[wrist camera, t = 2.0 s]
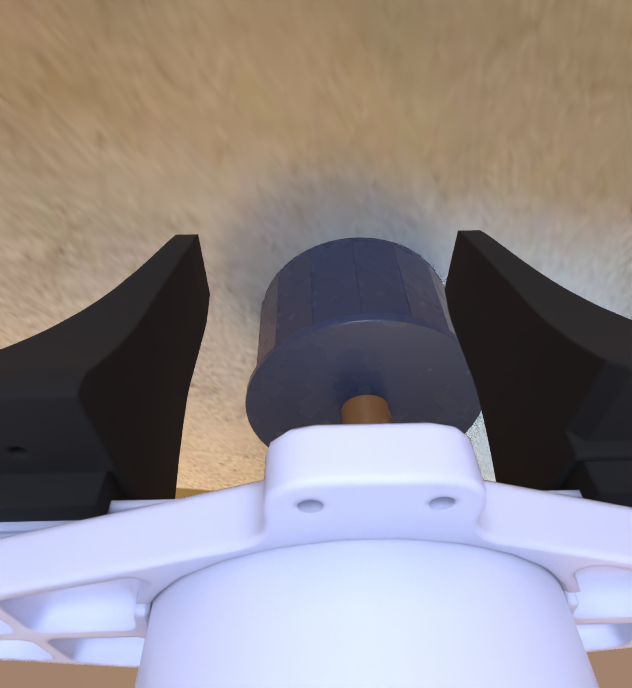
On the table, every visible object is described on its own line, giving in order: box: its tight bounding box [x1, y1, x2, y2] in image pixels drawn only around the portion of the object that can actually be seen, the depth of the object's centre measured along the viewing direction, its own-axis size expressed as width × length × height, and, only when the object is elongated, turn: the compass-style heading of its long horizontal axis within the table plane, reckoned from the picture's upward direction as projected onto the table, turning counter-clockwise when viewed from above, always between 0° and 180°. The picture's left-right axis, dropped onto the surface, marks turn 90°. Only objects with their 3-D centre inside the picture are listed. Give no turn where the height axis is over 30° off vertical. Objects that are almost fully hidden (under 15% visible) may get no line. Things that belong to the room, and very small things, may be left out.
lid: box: [246, 313, 481, 447], centre depth 22 cm, size 12×12×4 cm
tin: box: [257, 238, 456, 364], centre depth 26 cm, size 11×11×6 cm
